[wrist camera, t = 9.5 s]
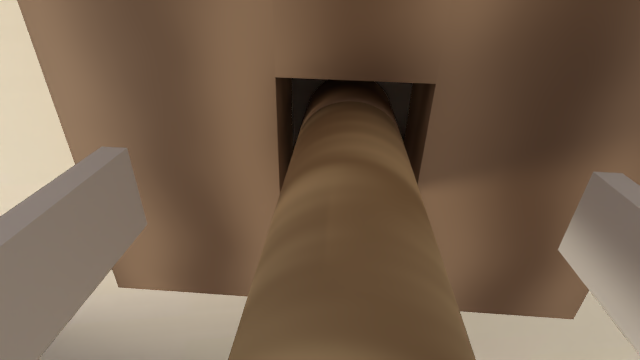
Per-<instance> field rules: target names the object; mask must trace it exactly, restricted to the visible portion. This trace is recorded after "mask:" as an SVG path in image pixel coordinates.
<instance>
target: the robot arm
mask: <svg viewBox="0 0 640 360" xmlns="http://www.w3.org/2000/svg"><path fill="white" fill-rule="evenodd" d="M146 226H147V221H146V217H145V213H144V210H143V206H142V202H141V198H140V195H139V191H138V187H137V183H136V180H135V176H134V172H133V168H132V165H131V161H130V157H129V153H128V149H127V148H119V147H100V148H99V149H97V150H96V151H95V152H93V153H92V154H90V155H89V156H87V157H86V158H84V159H83V160H82V161H80V162H79V163H77V164H76V165H74V166H73V167H71V168H70V169H68V170H67V171H66V172H64V173H63V174H61V175H60V176H58V177H57V178H55V179H54V180H53V181H51V182H50V183H48V184H47V185H45V186H44V187H42V188H41V189H39V190H38V191H37V192H35V193H34V194H32V195H31V196H29V197H28V198H26V199H25V200H24V201H22V202H21V203H19V204H18V205H16V206H15V207H13V208H12V209H11V210H9V211H8V212H6V213H5V214H3V215H2V216H0V360H38V359H39V358H40V357H41V355H42V354H43V353H44V352H45V350H46V349H47V348H48V347H49V345H50V344H51V343H52V342H53V341H54V339H55V338H56V337H57V336H58V334H59V333H60V332H61V331H62V329H63V328H64V327H65V326H66V324H67V323H68V322H69V321H70V320H71V318H72V317H73V316H74V315H75V313H76V312H77V311H78V310H79V308H80V307H81V306H82V305H83V303H84V302H85V301H86V300H87V298H88V297H89V296H90V295H91V294H92V292H93V291H94V290H95V289H96V287H97V286H98V285H99V284H100V282H101V281H102V280H103V279H104V277H105V276H106V275H107V274H108V273H109V271H110V270H111V269H112V268H113V266H114V265H115V264H116V263H117V261H118V260H119V259H120V258H121V256H122V255H123V254H124V253H125V252H126V250H127V249H128V248H129V247H130V245H131V244H132V243H133V242H134V240H135V239H136V238H137V237H138V235H139V234H140V233H141V232H142V231H143V229H144V228H145V227H146ZM558 250H559V252H560V253H561V254H562V256H563V257H564V258H565V260H566V261H567V262H568V263H569V265H570V266H571V267H572V269H573V270H574V271H575V273H576V274H577V275H578V276H579V278H580V279H581V280H582V282H583V283H584V284H585V286H586V287H587V288H588V289H589V291H590V292H591V293H592V295H593V296H594V297H595V299H596V300H597V301H598V302H599V304H600V305H601V306H602V308H603V309H604V310H605V312H606V313H607V314H608V315H609V317H610V318H611V319H612V321H613V322H614V323H615V325H616V326H617V327H618V328H619V330H620V331H621V332H622V334H623V335H624V336H625V338H626V339H627V340H628V341H629V343H630V344H631V345H632V347H633V348H634V349H635V351H636V352H637V353H638V354H639V356H640V186H639V185H638V184H637V183H635V182H634V181H633V180H631V179H630V178H628V177H627V176H626V175H624V174H623V173H609V172H593V173H592V176H591V178H590V180H589V182H588V184H587V187H586V189H585V191H584V193H583V195H582V198H581V200H580V202H579V204H578V206H577V209H576V211H575V213H574V215H573V217H572V220H571V222H570V224H569V226H568V228H567V231H566V233H565V235H564V237H563V239H562V242H561V244H560V246H559V248H558Z"/></svg>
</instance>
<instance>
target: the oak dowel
mask: <svg viewBox="0 0 640 360" xmlns="http://www.w3.org/2000/svg"><path fill="white" fill-rule="evenodd" d="M228 360H476V359H475V356H474V353H473V350H472V347H471V344H470V341H469V338H468V335H467V332H466V329H465V326H464V323H463V320H462V317H461V314H460V311H459V308H458V305H457V302H456V299H455V296H454V293H453V290H452V287H451V284H450V281H449V278H448V275H447V272H446V269H445V266H444V263H443V260H442V257H441V254H440V251H439V248H438V245H437V242H436V239H435V236H434V233H433V230H432V227H431V224H430V221H429V218H428V215H427V212H426V209H425V206H424V203H423V200H422V197H421V194H420V191H419V188H418V185H417V182H416V179H415V176H414V173H413V170H412V167H411V164H410V161H409V158H408V155H407V152H406V149H405V146H404V143H403V140H402V137H401V134H400V131H399V128H398V125H397V122H396V119H395V116H394V113H393V110H392V107H391V104H390V101H389V98H388V96H387V95H386V93H385V91H384V90H383V89H382V88H381V87H380V86H379V85H378V84H377V83H376V82H374V81H355V80H330V79H328V80H327V81H325V82H324V83H322V84H321V85H320V86H319V87H318V88H317V89H316V90H315V92H314V93H313V94H312V96H311V98H310V100H309V103H308V106H307V109H306V113H305V116H304V119H303V122H302V125H301V129H300V132H299V135H298V138H297V141H296V144H295V148H294V151H293V154H292V157H291V160H290V164H289V167H288V170H287V173H286V176H285V180H284V183H283V186H282V189H281V192H280V196H279V199H278V202H277V205H276V208H275V212H274V215H273V218H272V221H271V224H270V227H269V231H268V234H267V237H266V240H265V243H264V247H263V250H262V253H261V256H260V259H259V263H258V266H257V269H256V272H255V275H254V279H253V282H252V285H251V288H250V291H249V295H248V298H247V301H246V304H245V307H244V310H243V314H242V317H241V320H240V323H239V326H238V330H237V333H236V336H235V339H234V342H233V346H232V349H231V352H230V355H229V358H228Z"/></svg>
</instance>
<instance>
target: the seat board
mask: <svg viewBox="0 0 640 360" xmlns="http://www.w3.org/2000/svg"><path fill="white" fill-rule="evenodd" d="M17 1H18V4H19V7H20V9H21V12H22V15H23V18H24V21H25V24H26V26H27V29H28V32H29V35H30V38H31V41H32V43H33V46H34V49H35V52H36V55H37V58H38V60H39V63H40V66H41V69H42V72H43V75H44V77H45V80H46V83H47V86H48V89H49V92H50V94H51V97H52V100H53V103H54V106H55V109H56V111H57V114H58V117H59V120H60V123H61V126H62V128H63V131H64V134H65V137H66V140H67V143H68V145H69V148H70V151H71V154H72V157H73V160H74V162H75V165H76V164H77V163H79V162H80V161H82V160H83V159H84V158H86V157H87V156H89V155H90V154H92V153H93V152H95V151H96V150H97V149H99V148H100V147H119V148H127V149H128V153H129V157H130V161H131V165H132V168H133V172H134V176H135V180H136V183H137V187H138V191H139V195H140V198H141V202H142V206H143V210H144V213H145V217H146V221H147V226H146V227H145V228H144V229H143V231H142V232H141V233H140V234H139V235H138V237H137V238H136V239H135V240H134V242H133V243H132V244H131V245H130V247H129V248H128V249H127V250H126V252H125V253H124V254H123V255H122V256H121V258H120V259H119V260H118V261H117V263H116V264H115V265H114V266H113V268H112V270H113V273H114V276H115V278H116V281H117V284H118V287H122V288H136V289H151V290H165V291H179V292H193V293H208V294H222V295H236V296H248V295H249V291H250V288H251V285H252V282H253V279H254V275H255V272H256V269H257V266H258V263H259V259H260V256H261V253H262V250H263V247H264V243H265V240H266V237H267V234H268V231H269V227H270V224H271V221H272V218H273V215H274V212H275V208H276V205H277V202H278V199H279V196H280V192H281V189H282V186H283V183H284V180H285V176H286V173H287V170H288V167H289V164H290V160H291V157H292V154H293V124H292V78H306V79H330V80H355V81H379V82H404V83H413V84H412V91H411V98H410V104H409V111H408V117H407V124H406V131H405V137H404V146H405V149H406V152H407V155H408V158H409V161H410V164H411V167H412V170H413V173H414V176H415V179H416V182H417V185H418V188H419V191H420V194H421V197H422V200H423V203H424V206H425V209H426V212H427V215H428V218H429V221H430V224H431V227H432V230H433V233H434V236H435V239H436V242H437V245H438V248H439V251H440V254H441V257H442V260H443V263H444V266H445V269H446V272H447V275H448V278H449V281H450V284H451V287H452V290H453V293H454V296H455V299H456V302H457V305H458V308H459V311H464V312H478V313H492V314H507V315H521V316H535V317H549V318H564V319H574V317H575V315H576V313H577V311H578V310H579V308H580V306H581V304H582V302H583V300H584V299H585V297H586V295H587V293H588V291H589V289H588V288H587V287H586V286H585V284H584V283H583V282H582V280H581V279H580V278H579V276H578V275H577V274H576V273H575V271H574V270H573V269H572V267H571V266H570V265H569V263H568V262H567V261H566V260H565V258H564V257H563V256H562V254H561V253H560V252H559V250H558V248H559V246H560V244H561V242H562V239H563V237H564V235H565V233H566V231H567V228H568V226H569V224H570V222H571V220H572V217H573V215H574V213H575V211H576V209H577V206H578V204H579V202H580V200H581V198H582V195H583V193H584V191H585V189H586V187H587V184H588V182H589V180H590V178H591V176H592V173H593V172H609V173H623V174H624V175H626V176H627V177H628V178H630V179H631V180H633V181H634V182H635V183H637V184H638V185H639V186H640V0H17Z"/></svg>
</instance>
